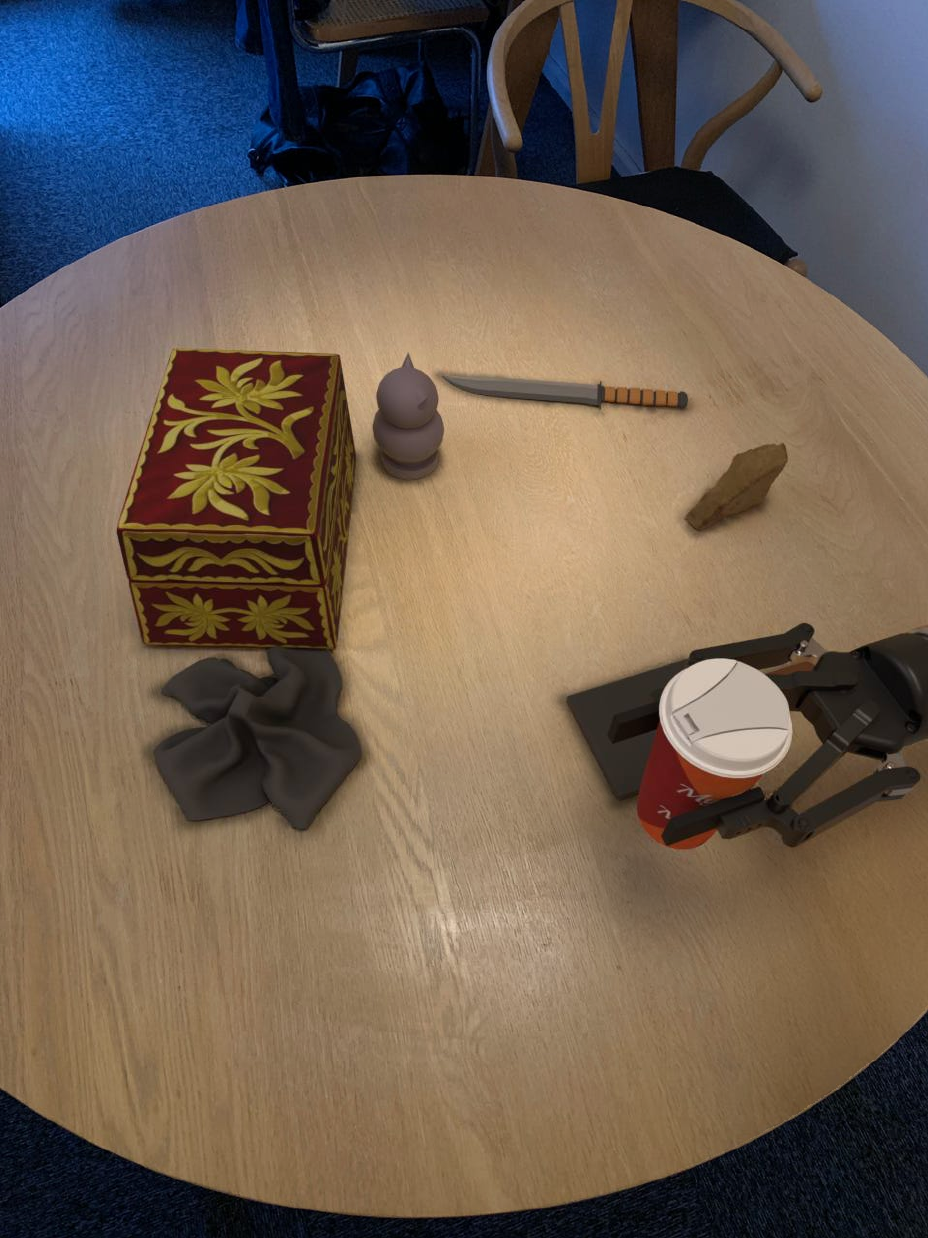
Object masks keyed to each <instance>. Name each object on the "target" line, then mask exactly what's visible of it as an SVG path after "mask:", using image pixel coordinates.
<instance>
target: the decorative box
mask: <svg viewBox="0 0 928 1238" xmlns="http://www.w3.org/2000/svg"><path fill="white" fill-rule="evenodd" d="M342 364H343V363H342V360H341V355H340V354H338V353H328V352H327V353H325V352H302V351H301V352H298V351H297V352H295V351H270V350H269V351H267V350H237V349H210V348H209V349H207V348H173V349H172V350H171V353H170V354H169V359H168V361H167V365H166V367H165V371H164V374H163V377H162V379H161V383H160V387H159V389H158V393H157V396H156V399H155V402H154V405H153V408H152V412H151V415H150V418H149V422H148V424H147V428H146V431H145V435H144V437H143V440H142V443H141V447H140V450H139V453H138V456H137V460H136V463H135V466H134V469H133V473H132V476H131V480H130V482H129V485H128V489H127V492H126V495H125V498H124V502H123V505H122V508H121V511H120V514H119V518H118V521H117V525H116V536H117V541H118V544H119V545H118V546H119V549H120V553H121V558H122V562H123V565H124V571H125V575H126V578H127V579H128V585H129V586H128V587H129V592H130V596H131V600H132V604H133V608H134V612H135V617H136V622H137V625H138V629H139V633H140V637H141V641H142V643H143V644H144V645H148V646H173V647H174V646H175V647H179V646H180V647H181V646H182V647H219V648H221V647H223V648H224V647H225V648H258V649H259V648H261V649H266V648H272V647H282V648H300V649H328V650H332V649H333V650H334V649H336V647H337V643H338V639H339V630H340V623H341V622H340V621H341V614H342V613H341V612H342V602H343V593H344V582H345V574H346V563H347V554H348V545H349V534H350V524H351V513H352V506H353V496H354V486H355V485H354V484H355V474H356V466H357V465H356V463H357V453H356V445H355V440H354V434H353V433H354V432H353V427H352V421H351V415H350V408H349V403H348V397H347V396H348V395H347V390H346V385H345V384H346V383H345V378H344V372H343V365H342Z"/></svg>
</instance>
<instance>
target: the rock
mask: <svg viewBox="0 0 928 1238" xmlns="http://www.w3.org/2000/svg"><path fill="white" fill-rule="evenodd" d="M788 461H789V456H788V450H787V447H786V445H785V443H784V442H781V443H780V444H776V443H767V444H762V445H760V446H757V447H754V448H749V449H748V450H746V451H742V452H740V453H739V452H738V453H736V454H735V455H734V456H733V457H732V458H731V463H730V465H729V466H728V469H726V471H725V472H724V473H723V474H722V475H721V477H720V478H719V479H718V481H717V483H716V485H715V486H714V487H712V488H710V489H708V490H707V491H706V492H705V493H704V494H703V495H702V496H701V498H700V499H699V501H698V502H697V504H695V506H693V507H692V508H691V509H690V511H689V512H687V514H686V515H685V518H686V520H687V521H688V522H689V523H690V524H691V525H692V527H693V528H694V529H696V530H697V531H701V530H703V529H705V528H708V527H709V526H711V525H712V524H715V523H717V522H719V521H721V520H723V519H725V518H727V517H729V516H733V515H734V516H735V515H736V514H738V513H741V512H743V511H745V510H747V509H749V508H750V507H751V506H756V505H758V504H761V502H763V501H764V500H765V498H766V496H767V495H768V493H769V491H770V489H771V486H772V485H773V484H774V483H775V481H776V479H777V478H778V477H779V476H780V475H781V473H782V472H783V470H784V468H785V467H786V465H787V464H788Z"/></svg>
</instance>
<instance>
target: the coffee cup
mask: <svg viewBox="0 0 928 1238" xmlns="http://www.w3.org/2000/svg"><path fill="white" fill-rule="evenodd" d="M765 674H766V673H763V672H762V671H760V670H757V669H755V668H753V667H751V666H749V665H746V664H744V663H742V662H739V661H738V662H737V661H736V660H731V659H710V660H705V661H701V662H698V663H696V664H694V665H692V666H690V667H689V668H687V669H685V670H683V671H681V672H680V673H678V674H677V675H675V676H674V677H673V678H672V679H671V680H670V681H669V683H668V684H667V686H666V687H665V689H664V691H663V693H662V696H661V700H660V705H659V715H660V721H659V724H658V728H657V731H656V734H655V738H654V741H653V744H652V748H651V751H650V755H649V758H648V761H647V765H646V768H645V772H644V775H643V779H642V782H641V786H640V790H639V793H638V794H637V800H636V813H637V817H638V820H639V823H640V825H641V827H642V829H643V830H644V831H645V833H646V834H647V835H648V836H649V837H650V838H651V839H652V840H654V841H655V842H656V843H658V844H659V845H661V846H663V847H665V848H669V849H673V850H677V851H678V850H679V851H682V850H683V851H686V850H687V851H688V850H693V849H696V848H699V847H701V846H702V845H703V844H705V843H706V842H708V841H709V840H710V839H711V838H712V837H713V835H714V834H716V832H718V831H717V829H713V830H710V831H707V832H705V833H702V834H699V835H696V836H694V837H691V838H688V839H686V840H683V841H680V842H677V843H675V844H672V845H669V846H666V845H665V843H664V841H663V839H662V837H661V835H662V833H663V831H664V829H665V827H666V825H667V823H668V821H669V819H670V818H672V817H675V816H678V815H681V814H684V813H686V812H689V811H692V810H695V809H698V808H700V807H703V806H706V805H709V804H712V803H714V802H717V801H720V800H723V799H725V798H728V797H732V796H736V795H739V794H741V793H743V792H745V791H748V790H751V789H753V787H754V786H755V785H756V784H757V783H758V781H759V780H760V779H761V778H762V776H763V775H764V774H765V773H767V772H769V771H771V770H773V769H774V768H775V767H776V766H778V765H779V764H780V763H781V761H782V760H783V759H784V758H785V757H786V755H787V753H788V751H789V750H790V746H791V744H792V739H793V723H792V720H791V715H790V714H791V713H790V712H791V711H789V706H788V702H787V700H786V698H785V696H784V694H783V693H782V692H781V690H780V689H779V688H778V687H777V686H776V684H775V683H773V682H772V681H771V680H770V679H769V678H768V677H767V676H766V675H765Z"/></svg>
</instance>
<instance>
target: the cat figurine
mask: <svg viewBox="0 0 928 1238" xmlns="http://www.w3.org/2000/svg"><path fill="white" fill-rule="evenodd" d="M375 395H376V396H375V397H376V404H377V408H378V410H377V411H376V412H375V415H374V418H373V422H372V433H373V438H374V440H375V442H376V445H378V447H379V448H380V450H381V462H382V463H381V464H382V466H383V468H384V470H385V471H386V472H387V473H388V474H390V475H391V476H393V477H395V478H398V479H400V480H406V481H407V480H408V481H410V480H419V479H422V478H425V477H427V476H428V475H430V474H432V473H433V472H434V470H435V469H436V467H437V464H438V457H439V456H438V454H439V452H438V450H439V448H440V447H441V445H442V443H443V439H444V434H445V425H444V421H443V418H442V415H441V414H440V412H439V411H438V406H439V400H440V399H439V393H438V389H437V386H436V384H435V382H434V381H433V380H432V378H431V377H430V376H429V375H428V374H426V373H425V372H424V371H422V370H421V369H418V368H415V366H414V364H413V360H412V358H411V355H410V353H409V352H407V354H406V356H405V357H404V360H403V363H402V365H401V367H397V368H394V369H392V370H391V371H389V372H387V373H386V374H384V376H383V378H381V380H380V381H379V383H378V386H377V390H376V394H375Z"/></svg>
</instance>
